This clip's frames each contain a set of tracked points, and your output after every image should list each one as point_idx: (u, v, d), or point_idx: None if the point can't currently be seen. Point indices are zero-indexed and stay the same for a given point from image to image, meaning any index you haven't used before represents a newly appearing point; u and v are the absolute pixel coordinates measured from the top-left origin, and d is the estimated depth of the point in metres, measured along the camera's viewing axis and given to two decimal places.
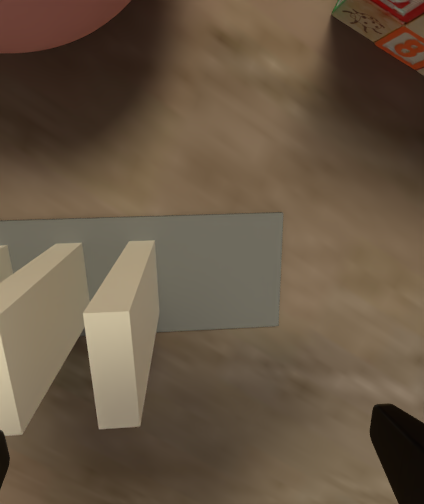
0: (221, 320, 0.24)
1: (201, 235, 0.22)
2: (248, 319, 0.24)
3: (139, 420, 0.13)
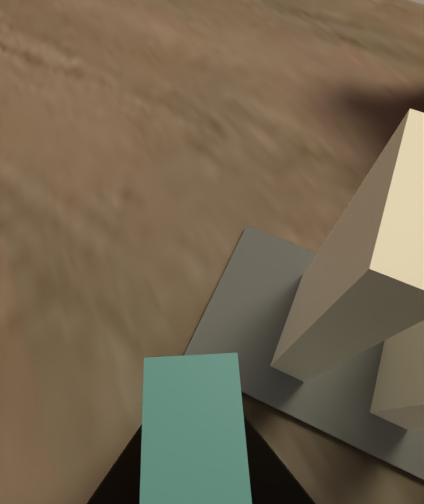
0: None
1: None
2: None
3: None
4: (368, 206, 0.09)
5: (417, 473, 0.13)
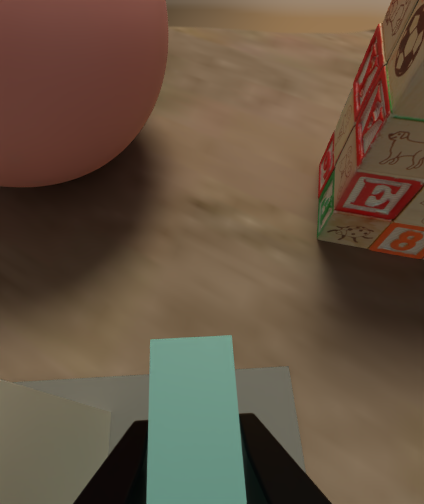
0: None
1: None
2: None
3: None
4: None
5: None
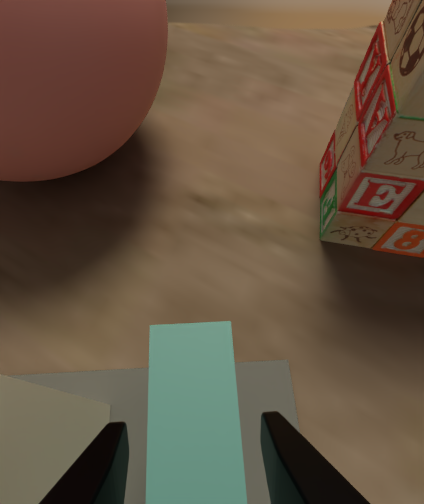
0: None
1: None
2: None
3: None
4: None
5: None
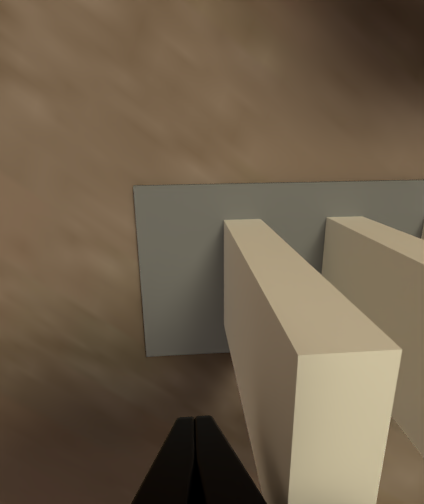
0: None
1: None
2: None
3: None
4: (271, 422, 0.07)
5: None
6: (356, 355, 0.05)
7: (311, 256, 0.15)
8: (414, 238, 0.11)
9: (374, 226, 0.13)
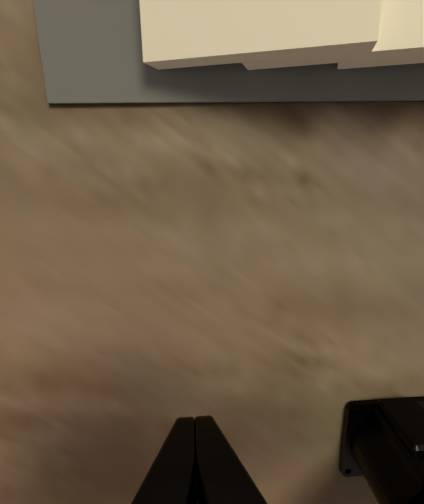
0: None
1: None
2: None
3: None
4: None
5: (249, 99, 0.18)
6: None
7: None
8: None
9: None
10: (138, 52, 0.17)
